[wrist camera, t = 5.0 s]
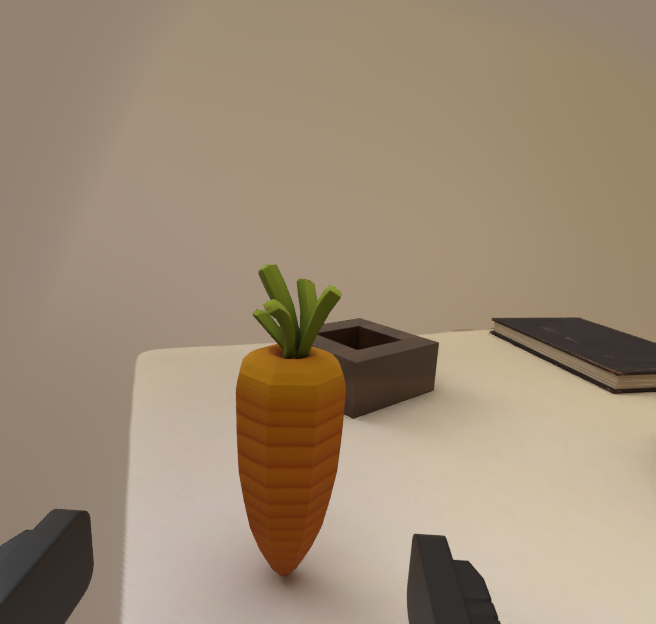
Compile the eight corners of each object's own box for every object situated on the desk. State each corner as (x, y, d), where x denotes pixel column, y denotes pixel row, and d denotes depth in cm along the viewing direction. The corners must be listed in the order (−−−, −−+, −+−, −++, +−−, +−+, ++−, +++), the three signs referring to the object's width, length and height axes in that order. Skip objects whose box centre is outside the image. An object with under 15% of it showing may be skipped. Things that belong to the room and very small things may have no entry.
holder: (278, 377, 48) (279, 330, 46) (356, 358, 55) (359, 317, 54) (352, 418, 39) (356, 362, 38) (433, 390, 47) (439, 342, 45)
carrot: (353, 593, 22) (379, 275, 18) (251, 635, 19) (259, 278, 16) (307, 527, 26) (321, 259, 22) (219, 554, 23) (219, 260, 20)
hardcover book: (613, 393, 48) (618, 372, 48) (489, 332, 70) (491, 317, 69) (731, 387, 52) (736, 368, 51) (579, 331, 74) (581, 317, 73)
